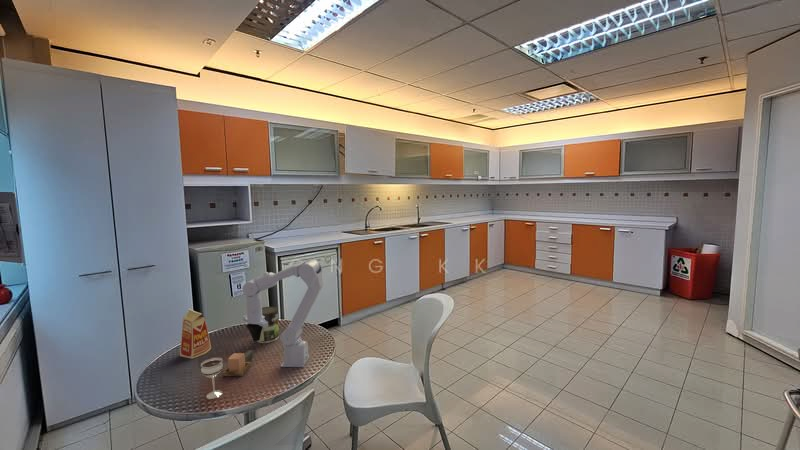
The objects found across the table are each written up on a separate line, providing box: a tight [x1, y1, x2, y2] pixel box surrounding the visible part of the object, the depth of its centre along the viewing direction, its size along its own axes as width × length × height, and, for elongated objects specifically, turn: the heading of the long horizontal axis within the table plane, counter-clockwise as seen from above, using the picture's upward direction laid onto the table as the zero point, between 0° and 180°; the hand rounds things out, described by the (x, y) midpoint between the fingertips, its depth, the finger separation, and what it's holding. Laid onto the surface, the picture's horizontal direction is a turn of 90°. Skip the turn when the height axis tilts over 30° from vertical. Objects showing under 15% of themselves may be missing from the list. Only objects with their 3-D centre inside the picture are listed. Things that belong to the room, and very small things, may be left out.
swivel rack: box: [222, 349, 254, 377], centre depth 137 cm, size 7×15×3 cm, turn 179°
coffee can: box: [256, 306, 280, 344], centre depth 161 cm, size 10×10×14 cm
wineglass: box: [200, 357, 224, 400], centre depth 118 cm, size 7×7×12 cm
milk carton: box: [179, 308, 212, 359], centre depth 148 cm, size 9×9×20 cm
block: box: [227, 352, 246, 372], centre depth 133 cm, size 4×4×6 cm
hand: (256, 340), depth 140 cm, fingers closed
